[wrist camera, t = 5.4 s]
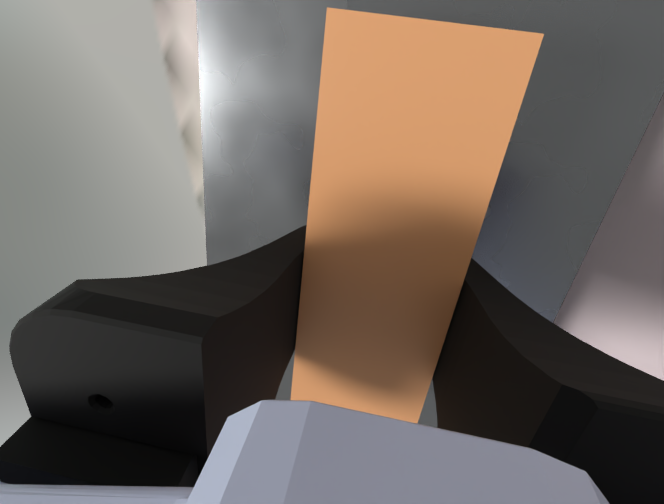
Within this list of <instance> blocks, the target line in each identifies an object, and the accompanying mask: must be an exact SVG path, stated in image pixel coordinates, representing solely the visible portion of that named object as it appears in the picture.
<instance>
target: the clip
mask: <svg viewBox="0 0 664 504" xmlns="http://www.w3.org/2000/svg"><path fill="white" fill-rule="evenodd" d="M543 36H544V34H542V33H533V32H525V31H517V30H509V29H501V28H492V27H484V26H476V25H468V24H460V23H451V22H443V21H435V20H427V19H418V18H410V17H402V16H394V15H386V14H377V13H369V12H361V11H353V10H345V9H336V8H328V7H327V12H326V23H325V34H324V44H323V55H322V66H321V77H320V87H319V98H318V109H317V120H316V130H315V141H314V152H313V163H312V174H311V184H310V195H309V206H308V217H307V227H306V238H305V249H304V260H303V271H302V281H301V292H300V303H299V314H298V324H297V335H296V346H295V357H294V367H293V378H292V389H291V400H303V401H315V402H320V403H325V404H329V405H334V406H338V407H343V408H348V409H352V410H357V411H362V412H366V413H371V414H375V415H380V416H385V417H389V418H394V419H398V420H403V421H408V422H412V423H418V420H419V417H420V414H421V411H422V408H423V405H424V402H425V398H426V395H427V392H428V389H429V386H430V383H431V380H432V377H433V374H434V371H435V368H436V365H437V362H438V359H439V355H440V352H441V349H442V346H443V343H444V340H445V337H446V334H447V331H448V328H449V325H450V322H451V319H452V316H453V312H454V309H455V306H456V303H457V300H458V297H459V294H460V291H461V288H462V285H463V282H464V279H465V276H466V273H467V269H468V266H469V263H470V260H471V257H472V254H473V251H474V248H475V245H476V242H477V239H478V236H479V233H480V230H481V226H482V223H483V220H484V217H485V214H486V211H487V208H488V205H489V202H490V199H491V196H492V193H493V190H494V186H495V183H496V180H497V177H498V174H499V171H500V168H501V165H502V162H503V159H504V156H505V153H506V150H507V147H508V143H509V140H510V137H511V134H512V131H513V128H514V125H515V122H516V119H517V116H518V113H519V110H520V107H521V104H522V100H523V97H524V94H525V91H526V88H527V85H528V82H529V79H530V76H531V73H532V70H533V67H534V64H535V61H536V57H537V54H538V51H539V48H540V45H541V42H542V39H543Z"/></svg>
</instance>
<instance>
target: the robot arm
mask: <svg viewBox="0 0 664 504" xmlns="http://www.w3.org/2000/svg"><path fill="white" fill-rule="evenodd" d="M306 227H307V225H305V226H302V227H300V228H298V229H296V230H294V231H292V232H290V233H288V234H287V235H285V236H283V237H281V238H279V239H277V240H275V241H273V242H271V243H269V244H267V245H264V246H262V247H260V248H257V249H255V250H253V251H251V252H248V253H246V254H243V255H241V256H238V257H235V258H232V259H229V260H226V261H222V262H219V263H216V264H212V265H208V266H204V267H199V268H194V269H190V270H185V271H180V272H174V273H167V274H160V275H152V276H142V277H131V278H111V279H84V280H76V281H75V282H73V283H72V284H70V285H69V286H68V287H66V288H65V289H63V290H62V291H60V292H59V293H57V294H56V295H55V296H53V297H52V298H50V299H49V300H47V301H46V302H44V303H43V304H42V305H40V306H39V307H37V308H36V309H34V310H33V311H31V312H30V313H29V314H27V315H26V316H24V317H23V318H22V319H20V320H19V321H18V323H17V324H16V326H15V327H14V329H13V330H12V333H11V339H10V354H11V359H12V364H13V367H14V370H15V373H16V375H17V378H18V381H19V384H20V386H21V389H22V392H23V395H24V397H25V400H26V403H27V406H28V408H29V411H30V414H31V416H32V417H31V418H29V420H27V422H25V423H24V424H23V425H22V426H21V427H20V428H19V429H18V430H17V431H16V432H15V433H14V434H13V435H12V436H11V437H10V438H9V439H8V440H7V441H6V442H5V443H4V444H3V445H2V446H1V447H0V504H664V381H663V380H660V379H658V378H656V377H654V376H652V375H649V374H647V373H645V372H643V371H641V370H638V369H636V368H634V367H632V366H630V365H627V364H625V363H623V362H621V361H619V360H617V359H615V358H613V357H611V356H609V355H607V354H605V353H604V352H602V351H600V350H598V349H596V348H594V347H592V346H591V345H589V344H587V343H585V342H583V341H581V340H580V339H578V338H576V337H575V336H573V335H571V334H569V333H568V332H566V331H564V330H563V329H561V328H560V327H558V326H557V325H555V324H554V323H552V322H551V321H549V320H548V319H546V318H544V317H543V316H541V315H540V314H539V313H537V312H536V311H534V310H533V309H532V308H530V307H529V306H528V305H527V304H525V303H524V302H523V301H521V300H520V299H519V298H517V297H516V296H515V295H514V294H512V293H511V292H510V291H509V290H508V289H506V288H505V287H504V286H503V285H502V284H501V283H500V282H498V281H497V280H496V279H495V278H494V277H493V276H492V275H490V274H489V273H488V272H487V271H486V270H485V269H484V268H483V267H482V266H481V265H479V264H478V263H477V262H476V261H475V260H474V259H472V258H471V260H470V263H469V266H468V269H467V273H466V276H465V279H464V282H463V285H462V288H461V291H460V294H459V297H458V300H457V303H456V306H455V309H454V312H453V316H452V319H451V322H450V325H449V328H448V331H447V334H446V337H445V340H444V343H443V346H442V349H441V352H440V355H439V359H438V362H437V365H436V368H435V371H434V374H433V377H432V380H433V387H434V394H435V401H436V412H437V428H435V427H431V426H426V425H422V424H417V423H412V422H408V421H403V420H398V419H394V418H389V417H385V416H380V415H375V414H371V413H366V412H362V411H357V410H352V409H348V408H343V407H338V406H334V405H329V404H325V403H320V402H315V401H303V400H275V398H276V395H277V392H278V389H279V386H280V383H281V381H282V378H283V375H284V373H285V370H286V368H287V366H288V364H289V362H290V359H291V357H292V355H293V353H294V350H295V346H296V335H297V324H298V314H299V303H300V292H301V281H302V271H303V260H304V249H305V238H306Z"/></svg>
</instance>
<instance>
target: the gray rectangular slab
mask: <svg viewBox="0 0 664 504" xmlns="http://www.w3.org/2000/svg"><path fill="white" fill-rule="evenodd" d="M327 7H328V8H336V9H345V10H353V11H361V12H369V13H377V14H386V15H394V16H402V17H410V18H418V19H427V20H435V21H443V22H451V23H460V24H468V25H476V26H484V27H492V28H501V29H509V30H517V31H525V32H533V33H542V34H544V36H543V39H542V42H541V45H540V48H539V51H538V54H537V57H536V61H535V64H534V67H533V70H532V73H531V76H530V79H529V82H528V85H527V88H526V91H525V94H524V97H523V100H522V104H521V107H520V110H519V113H518V116H517V119H516V122H515V125H514V128H513V131H512V134H511V137H510V140H509V143H508V147H507V150H506V153H505V156H504V159H503V162H502V165H501V168H500V171H499V174H498V177H497V180H496V183H495V186H494V190H493V193H492V196H491V199H490V202H489V205H488V208H487V211H486V214H485V217H484V220H483V223H482V226H481V230H480V233H479V236H478V239H477V242H476V245H475V248H474V251H473V254H472V257H471V258H472V259H474V260H475V261H476V262H477V263H478V264H479V265H481V266H482V267H483V268H484V269H485V270H486V271H487V272H488V273H489V274H490V275H492V276H493V277H494V278H495V279H496V280H497V281H498V282H500V283H501V284H502V285H503V286H504V287H505V288H506V289H508V290H509V291H510V292H511V293H512V294H514V295H515V296H516V297H517V298H519V299H520V300H521V301H523V302H524V303H525V304H527V305H528V306H529V307H530V308H532V309H533V310H534V311H536V312H537V313H539V314H540V315H541V316H543V317H544V318H546V319H548V320H549V321H551V322H552V323H553V321H554V319H555V317H556V315H557V313H558V311H559V309H560V307H561V305H562V303H563V301H564V299H565V297H566V294H567V292H568V290H569V288H570V286H571V284H572V282H573V280H574V278H575V276H576V274H577V272H578V270H579V268H580V265H581V263H582V261H583V259H584V257H585V255H586V253H587V251H588V249H589V247H590V245H591V243H592V241H593V238H594V236H595V234H596V232H597V230H598V228H599V226H600V224H601V222H602V220H603V218H604V216H605V214H606V212H607V209H608V207H609V205H610V203H611V201H612V199H613V197H614V195H615V193H616V191H617V189H618V187H619V185H620V182H621V180H622V178H623V176H624V174H625V172H626V170H627V168H628V166H629V164H630V162H631V160H632V158H633V156H634V153H635V151H636V149H637V147H638V145H639V143H640V141H641V139H642V137H643V135H644V133H645V131H646V129H647V126H648V124H649V122H650V120H651V118H652V116H653V114H654V112H655V110H656V108H657V106H658V104H659V102H660V100H661V97H662V95H663V93H664V0H196V11H197V35H198V59H199V83H200V107H201V130H202V154H203V178H204V202H205V226H206V250H207V266H208V265H212V264H216V263H219V262H222V261H226V260H229V259H232V258H235V257H238V256H241V255H243V254H246V253H248V252H251V251H253V250H255V249H257V248H260V247H262V246H264V245H267V244H269V243H271V242H273V241H275V240H277V239H279V238H281V237H283V236H285V235H287V234H288V233H290V232H292V231H294V230H296V229H298V228H300V227H302V226H305V225H307V217H308V206H309V195H310V184H311V174H312V163H313V152H314V141H315V130H316V120H317V109H318V98H319V87H320V77H321V66H322V55H323V44H324V34H325V23H326V12H327ZM294 357H295V350H294V353H293V355H292V357H291V359H290V362H289V364H288V366H287V368H286V370H285V373H284V375H283V378H282V381H281V383H280V386H279V389H278V392H277V395H276V398H275V400H291V389H292V378H293V367H294ZM417 424H422V425H426V426H431V427H435V428H437V412H436V401H435V394H434V387H433V380H431V383H430V386H429V389H428V392H427V395H426V398H425V402H424V405H423V408H422V411H421V414H420V417H419V420H418V423H417Z"/></svg>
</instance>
